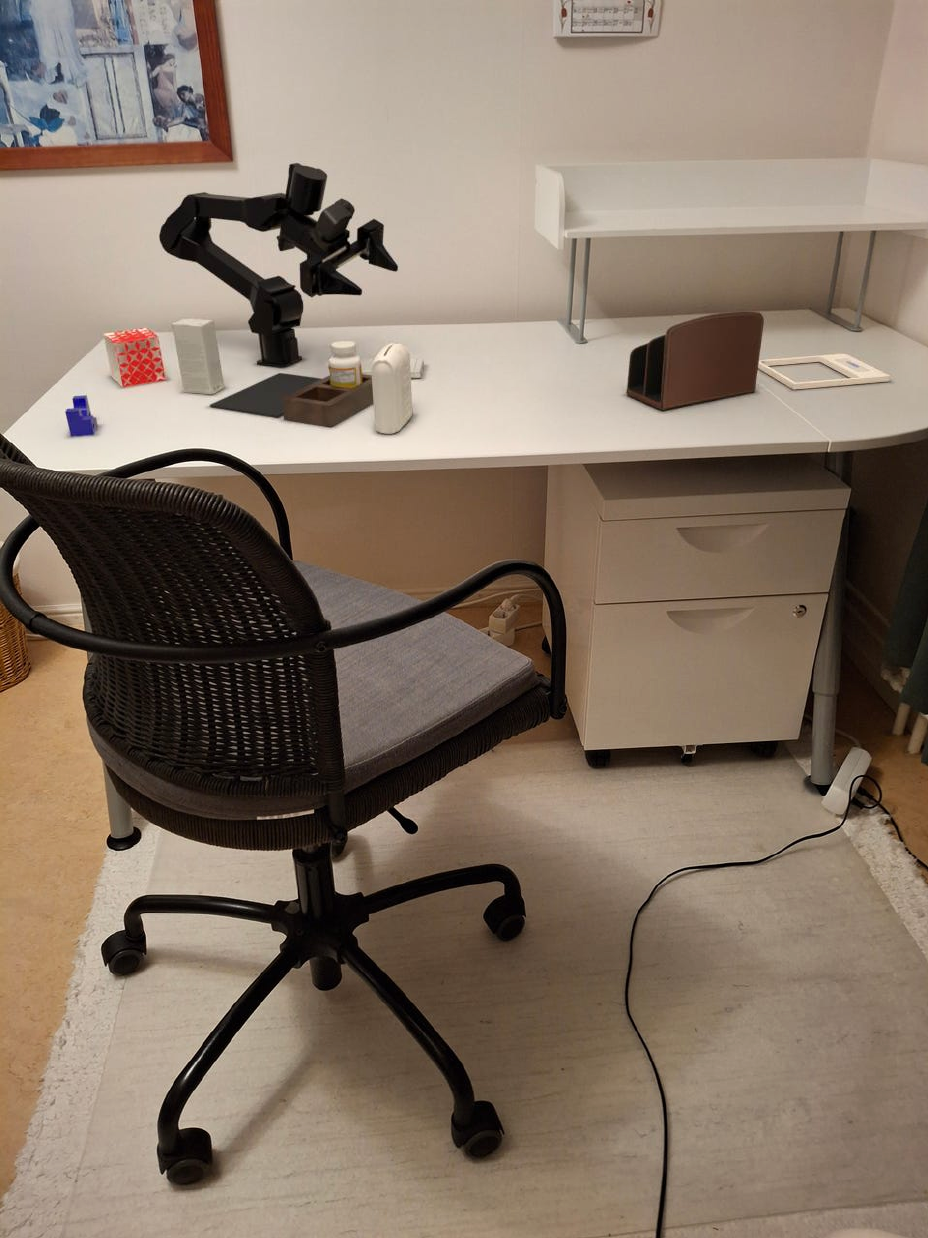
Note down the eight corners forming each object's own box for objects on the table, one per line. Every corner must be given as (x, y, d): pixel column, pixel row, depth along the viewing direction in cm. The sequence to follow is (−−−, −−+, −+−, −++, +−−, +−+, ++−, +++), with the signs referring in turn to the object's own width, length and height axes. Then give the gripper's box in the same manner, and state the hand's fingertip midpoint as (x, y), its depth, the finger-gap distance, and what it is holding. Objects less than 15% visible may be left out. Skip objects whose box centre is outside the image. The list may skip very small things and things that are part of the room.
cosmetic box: (225, 388, 171) (215, 319, 165) (212, 395, 168) (201, 325, 162) (196, 385, 173) (184, 317, 167) (182, 392, 170) (170, 323, 163)
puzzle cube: (166, 380, 176) (158, 336, 172) (122, 387, 173) (113, 343, 169) (154, 369, 182) (146, 327, 178) (112, 376, 179) (103, 333, 175)
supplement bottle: (346, 394, 167) (341, 337, 162) (370, 399, 164) (366, 342, 159) (325, 402, 163) (320, 345, 158) (349, 408, 160) (345, 349, 155)
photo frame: (890, 374, 166) (794, 382, 163) (889, 381, 167) (793, 389, 164) (845, 352, 179) (755, 359, 176) (844, 358, 179) (754, 365, 176)
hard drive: (351, 370, 173) (420, 369, 173) (357, 358, 180) (423, 357, 180) (352, 379, 174) (420, 379, 174) (358, 366, 181) (423, 365, 181)
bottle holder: (283, 419, 156) (281, 398, 154) (339, 390, 169) (338, 370, 167) (331, 427, 152) (329, 405, 151) (385, 396, 165) (383, 376, 163)
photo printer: (390, 412, 158) (385, 336, 152) (415, 414, 157) (412, 337, 151) (372, 434, 149) (366, 354, 143) (398, 435, 149) (394, 355, 142)
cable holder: (94, 434, 152) (88, 410, 150) (71, 436, 151) (65, 411, 149) (101, 418, 158) (96, 394, 156) (79, 419, 158) (73, 396, 156)
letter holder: (755, 392, 163) (767, 307, 156) (661, 411, 156) (669, 323, 149) (717, 377, 171) (726, 295, 164) (625, 395, 163) (631, 310, 156)
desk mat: (210, 407, 162) (209, 404, 162) (279, 374, 178) (279, 372, 177) (278, 417, 157) (277, 415, 157) (344, 383, 172) (343, 381, 172)
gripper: (271, 217, 156) (343, 263, 152) (349, 174, 165) (418, 215, 161) (274, 275, 165) (341, 320, 161) (348, 231, 175) (413, 272, 170)
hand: (379, 280), depth 163 cm, fingers open, 9 cm apart
